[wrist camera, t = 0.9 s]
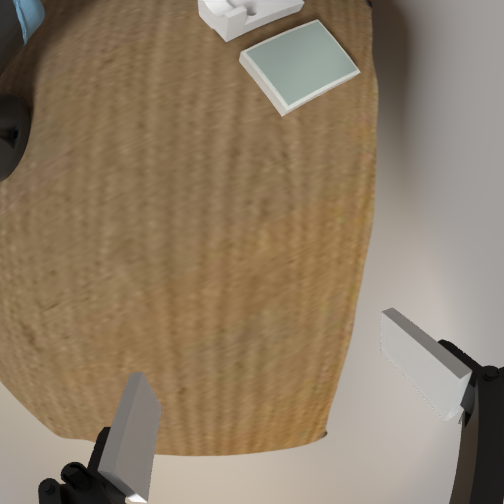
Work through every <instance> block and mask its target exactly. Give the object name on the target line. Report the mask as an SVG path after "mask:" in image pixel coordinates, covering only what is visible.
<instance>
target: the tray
mask: <svg viewBox="0 0 504 504" xmlns="http://www.w3.org/2000/svg"><path fill="white" fill-rule="evenodd" d="M239 62H240V63H241V65H242V66H243V67H244V68H245V69H246V71H247V72H248V73H249V74H250V75H251V77H252V78H253V79H254V80H255V82H256V83H257V84H258V85H259V87H260V88H261V89H262V91H263V92H264V93H265V94H266V96H267V97H268V98H269V100H270V101H271V102H272V104H273V105H274V106H275V108H276V109H277V110H278V112H279V113H280V114H281V116H284V115H286V114H287V113H289V112H291V111H292V110H294V109H296V108H298V107H299V106H301V105H303V104H305V103H306V102H308V101H310V100H312V99H314V98H315V97H317V96H319V95H321V94H323V93H325V92H327V91H328V90H330V89H332V88H334V87H336V86H338V85H340V84H342V83H344V82H346V81H348V80H350V79H352V78H353V77H355V76H356V75H357V74H359V73H360V71H359V69H358V68H357V67H356V65H355V64H354V63H353V61H352V60H351V59H350V57H349V56H348V55H347V53H346V52H345V51H344V50H343V48H342V47H341V46H340V45H339V43H338V42H337V41H336V40H335V39H334V37H333V36H332V35H331V34H330V33H329V31H328V30H327V29H326V28H325V27H324V26H323V25H322V24H321V22H320V21H319V20H318V19H317V20H314V21H312V22H309V23H306V24H303V25H301V26H298V27H295V28H293V29H290V30H288V31H285V32H283V33H281V34H278V35H276V36H274V37H271V38H269V39H267V40H265V41H263V42H260V43H258V44H256V45H254V46H252V47H250V48H248V49H246V50H244V51H242V52H241V53H240V58H239Z"/></svg>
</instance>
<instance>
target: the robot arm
mask: <svg viewBox="0 0 504 504" xmlns="http://www.w3.org/2000/svg"><path fill="white" fill-rule="evenodd" d="M44 17H45V10H44V7H43V5H42V3H41V1H40V0H0V76H1V74H2V73H3V72H4V70H5V69H6V67H7V66H8V65H9V63H10V62H11V61H12V59H13V58H14V57H15V55H16V54H17V53H18V52H19V50H20V49H21V48H22V47H24V46H25V45H26V44H27V41H28V39H29V38H30V37H31V36H32V34H33V33H34V32H35V31H36V30H37V28H38V27H39V26H40V25H41V24H42V22H43V20H44ZM29 129H30V114H29V109H28V106H27V104H26V102H25V100H24V99H23V98H22V97H20V96H18V95H15V94H12V93H2V94H0V182H1V181H3V180H5V179H6V178H7V177H8V176H9V175H10V174H11V173H12V172H13V171H14V169H15V168H16V167H17V165H18V163H19V161H20V159H21V157H22V155H23V153H24V150H25V147H26V144H27V140H28V136H29ZM381 327H382V328H381V352H382V353H383V354H384V355H385V356H386V357H387V358H388V359H389V360H390V362H391V363H392V364H393V365H394V366H395V367H396V368H397V369H398V370H399V371H400V372H401V373H402V374H403V376H404V377H405V378H406V379H407V380H408V381H409V382H410V383H411V384H412V386H413V387H414V388H415V389H416V390H417V391H418V392H419V393H420V394H421V395H422V397H423V398H424V399H425V400H426V401H427V402H428V403H429V404H430V406H431V407H432V408H433V409H434V410H435V411H436V412H437V414H438V415H439V416H440V417H441V418H442V419H443V420H444V422H445V421H447V420H448V419H450V418H451V417H453V416H454V415H456V414H457V412H458V410H459V407H460V405H461V406H462V407H463V408H464V411H463V413H462V416H461V418H460V420H459V424H460V423H461V421H462V431H461V441H460V450H459V457H458V463H457V470H456V475H455V480H454V485H453V490H452V494H451V498H450V502H449V504H503V500H504V367H502V368H499V369H498V368H497V367H494V366H484V367H482V366H481V365H479V364H478V363H477V362H476V361H474V360H473V359H472V358H471V357H469V356H468V355H467V354H466V353H463V351H462V350H460V349H458V347H457V346H455V345H454V344H453V343H451V342H449V341H446V340H443V339H442V340H440V341H438V342H436V341H435V340H434V339H433V338H431V337H430V336H429V335H428V334H426V333H425V332H424V331H422V330H421V329H420V328H419V327H418V326H416V325H415V324H414V323H412V322H411V321H410V320H408V319H407V318H406V317H404V316H403V315H402V314H401V313H399V312H398V311H397V310H395V309H394V308H390V309H387V310H385V311H382V326H381ZM161 410H162V406H161V404H160V403H159V401H158V399H157V397H156V396H155V394H154V392H153V390H152V388H151V386H150V385H149V383H148V381H147V379H146V377H145V375H144V373H143V372H137V373H130V376H129V378H128V381H127V384H126V386H125V389H124V392H123V395H122V397H121V400H120V403H119V406H118V408H117V411H116V414H115V417H114V420H113V423H112V426H111V427H104V428H103V430H102V431H101V432H100V433H99V435H98V437H97V440H96V444H95V446H94V450H93V452H92V455H91V458H90V461H89V464H88V467H87V468H86V467H85V466H83V464H81V463H79V462H71V463H69V464H67V465H66V466H65V467H64V468H63V469H62V472H61V479H62V480H63V481H64V482H65V483H66V484H59V483H58V482H57V481H56V480H55V479H52V478H47V479H45V480H43V481H42V482H41V483H40V485H39V488H38V493H39V504H126V503H125V498H126V497H127V498H129V499H130V500H131V501H133V502H146V503H147V502H148V495H149V487H150V479H151V472H152V465H153V458H154V452H155V445H156V439H157V433H158V427H159V421H160V416H161Z"/></svg>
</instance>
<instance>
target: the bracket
mask: <svg viewBox="0 0 504 504" xmlns="http://www.w3.org/2000/svg"><path fill="white" fill-rule="evenodd" d="M303 4H304V2H303V1H302V0H198V8H199V16H200V17H201V18H202V19H203V20H204V21H205V22H206V23H207V24H208V25H209V26H210V27H211V28H212V29H213V28H214V29H215V30H216V31H217V33H218V34H219V35H220V36H221V37H222V38H223V39H224V40H225V41H226V42H228V41H230V40H232V39H234V38H236V37H238V36H240V35H242V34H244V33H246V32H248V31H251V30H253V29H255V28H257V27H260V26H262V25H264V24H267V23H269V22H272V21H274V20H277V19H279V18H282V17H285V16H287V15H290V14H293V13H296V12H299V11H300V10H301V8H302V6H303Z"/></svg>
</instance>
